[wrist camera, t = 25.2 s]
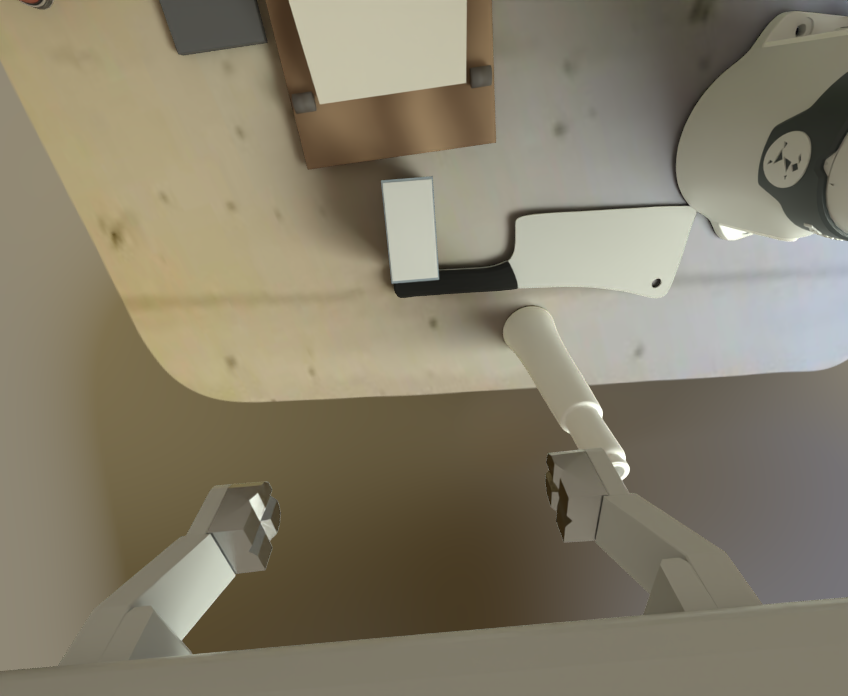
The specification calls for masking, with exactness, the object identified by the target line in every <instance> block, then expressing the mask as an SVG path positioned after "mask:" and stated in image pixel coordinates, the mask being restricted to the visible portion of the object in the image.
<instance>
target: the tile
mask: <svg viewBox="0 0 848 696" xmlns="http://www.w3.org/2000/svg"><path fill="white" fill-rule="evenodd" d="M289 3H290V7H291V10H292V14H293V17H294V20H295V24H296V27H297V30H298V34H299V37H300V40H301V44H302V47H303V50H304V54H305V57H306V60H307V64H308V67H309V70H310V74H311V77H312V80H313V84H314V87H315V90H316V94H317V97H318V100H319V104H326V103H333V102H340V101H346V100H353V99H360V98H367V97H374V96H381V95H387V94H394V93H401V92H408V91H415V90H422V89H428V88H435V87H442V86H449V85H456V84H462V83H466V33H467V0H289Z"/></svg>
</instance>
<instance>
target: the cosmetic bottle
mask: <svg viewBox="0 0 848 696" xmlns="http://www.w3.org/2000/svg"><path fill="white" fill-rule="evenodd" d="M503 337H504V340H505V342H506V344H507V345H508V346H509V347H510V348H511V349H512V350H513V352H514V353H515V354H516V355H517V357H518V358H519V359H520V361H521V362H522V364H523V365H524V367H525V368H526V370H527V371H528V373H529V375H530V376H531V378H532V380H533V381H534V383H535V385H536V386H537V388H538V390H539V391H540V393H541V395H542V397H543V398H544V400H545V401H546V403H547V405H548V406H549V408H550V410H551V412H552V413H553V415H554V416H555V418H556V420H557V421H558V423H559V424H560V426H561V428H562V429H563V430H564V431H566V432H568V433H570V434H571V436H572V437H573V439H574V441H575V443H576V445H577V447H578V449H579V450H581V449H582V450H583V449H592V448H602V449H604V450H605V452H606V454H607V455H608V457H609V459H610V461H611V462H612V464H613V466H614V468H615V469H616V471H617V473H618V474H619V476H620V478H621V480H623V479H624V478H625V477H626V476H627V475H628V473H629V471H630V468H629V465H628V464H627V462H626V461H625V460H626V456H625V453H624V451H623V449H622V448H621V446H620V445H619V443H618V442H617V440H616V439H615V437H614V436H613V434H612V433H611V431H610V429H609V428H608V427H607V425H606V424H605V422H604V420H603V419H602V415H603V413H602V408H601V407H600V405H599V403H598V401H597V399H596V398H595V396H594V395H593V392H592V391H591V389H590V388H589V386H588V384H587V382H586V381H585V379H584V377H583V376H582V374H581V372H580V371H579V369H578V367H577V366H576V364H575V363H574V361H573V359H572V358H571V356H570V354H569V352H568V351H567V349H566V347H565V346H564V344H563V342H562V340H561V338H560V336H559V334H558V331H557V329H556V326H555V323H554V320H553V318H552V316H551V314H550V313H549V312H548V311H546V310H545V309H543V308H540V307H536V306H529V307H524V308H521V309H519V310H517V311H516V312H514V313H513V314H512V315H511V316H510V317H509V318H508V319H507V321H506V322H505V325H504V328H503Z"/></svg>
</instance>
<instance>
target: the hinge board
mask: <svg viewBox="0 0 848 696" xmlns="http://www.w3.org/2000/svg"><path fill="white" fill-rule="evenodd" d="M265 1H266V5H267V9H268V13H269V17H270V21H271V25H272V29H273V33H274V37H275V41H276V45H277V49H278V53H279V57H280V61H281V65H282V69H283V73H284V76H285V80H286V84H287V88H288V92H289V96H290V100H291V104H292V108H293V112H294V116H295V120H296V124H297V128H298V132H299V136H300V140H301V144H302V148H303V152H304V156H305V160H306V164H307V168H308V169H315V168H322V167H329V166H336V165H343V164H350V163H357V162H364V161H371V160H378V159H384V158H391V157H398V156H405V155H412V154H419V153H426V152H433V151H440V150H447V149H454V148H461V147H468V146H475V145H482V144H489V143H496V128H495V95H494V62H493V29H492V0H467V33H466V83H462V84H456V85H449V86H442V87H435V88H428V89H422V90H415V91H408V92H401V93H394V94H387V95H381V96H374V97H367V98H360V99H353V100H346V101H340V102H333V103H326V104H319V100H318V97H317V94H316V90H315V87H314V84H313V80H312V77H311V74H310V70H309V67H308V64H307V60H306V57H305V54H304V50H303V47H302V44H301V40H300V37H299V34H298V30H297V27H296V24H295V20H294V17H293V14H292V10H291V7H290V3H289V0H265Z"/></svg>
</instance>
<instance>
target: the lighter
mask: <svg viewBox="0 0 848 696" xmlns="http://www.w3.org/2000/svg"><path fill="white" fill-rule="evenodd" d="M19 1H20V2H22V3H23V4H26V5H28V6H31V7H34V8H37V9H48V8H50V7H51V6H52V4H53V2H54V0H19Z"/></svg>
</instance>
